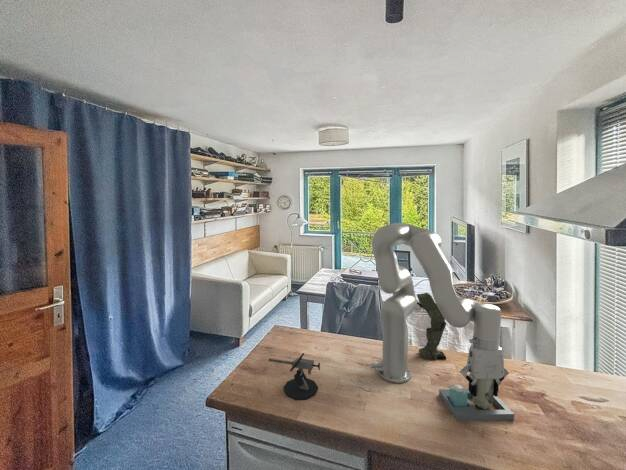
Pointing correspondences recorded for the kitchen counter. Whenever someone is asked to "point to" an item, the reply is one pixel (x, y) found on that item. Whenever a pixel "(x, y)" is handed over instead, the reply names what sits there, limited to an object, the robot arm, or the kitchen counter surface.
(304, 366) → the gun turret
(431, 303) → the mechanical leg
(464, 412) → the frame
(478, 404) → the box
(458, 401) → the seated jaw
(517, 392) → the kitchen counter surface
